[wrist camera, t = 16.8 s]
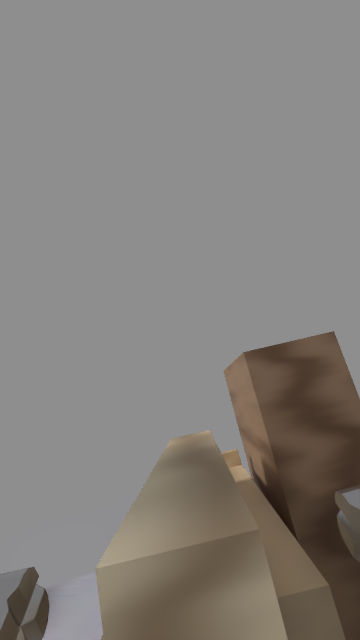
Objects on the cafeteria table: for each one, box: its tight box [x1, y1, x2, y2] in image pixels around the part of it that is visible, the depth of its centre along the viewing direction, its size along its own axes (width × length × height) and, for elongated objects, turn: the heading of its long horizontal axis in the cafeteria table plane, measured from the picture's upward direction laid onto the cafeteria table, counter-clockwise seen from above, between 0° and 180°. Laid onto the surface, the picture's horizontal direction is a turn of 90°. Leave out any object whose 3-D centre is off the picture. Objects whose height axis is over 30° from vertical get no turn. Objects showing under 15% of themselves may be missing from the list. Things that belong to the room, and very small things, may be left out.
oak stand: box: [101, 449, 346, 640], centre depth 20 cm, size 9×22×17 cm, turn 177°
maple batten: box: [96, 430, 288, 640], centre depth 15 cm, size 4×20×5 cm, turn 177°
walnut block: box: [224, 331, 360, 640], centre depth 27 cm, size 8×17×26 cm, turn 177°
